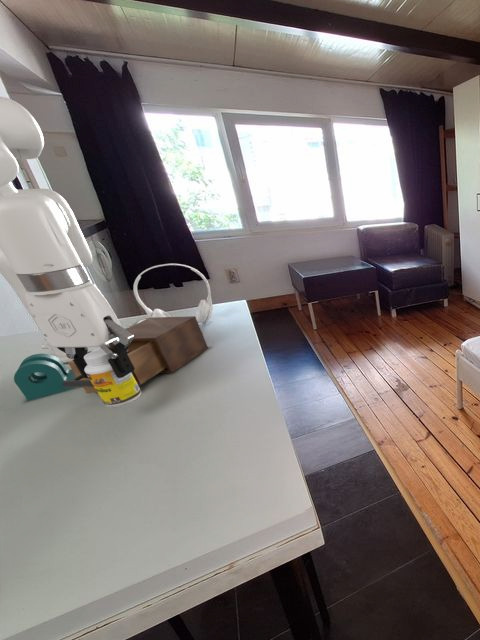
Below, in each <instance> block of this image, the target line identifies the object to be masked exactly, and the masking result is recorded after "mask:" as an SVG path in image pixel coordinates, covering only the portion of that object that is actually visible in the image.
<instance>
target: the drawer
mask: <svg viewBox="0 0 480 640" xmlns="http://www.w3.org/2000/svg"><path fill="white" fill-rule="evenodd" d="M109 345H110V346H111V348H112V349H113V348H114V346H115V345H114V344H113V343H111V344H109ZM128 349H129V350H128V352H126V353H127V355H128V356H129V358H130V360H131V362H132V364H133V366H134V368H135V370H134V371H132V372H131V373H132V375H133V377H134V378H135V380H136V382H137V384H138V386H139V385H143V384H145V383H146V382H147V381H148V380H151V379H152V378H153V377H155V376H156V375H158V374H160V373H159V372H161V371H162V370H164V369H165V368H166V366H165V364H164V361H163V359H162V357H161V355H160V353H159V351H158V349H157V347H156V345H155V343H154V341H132V342H131V343H130V346H129V348H128ZM67 365H68V366H69V367H70V370H71V369H72V371H73V372H74V374H75V375H76V378H74V379H72V380H70V381H64V382H63V383H62V386H63V387H76V388H83V390H84V392H85V393H86V394H95V393H96V394H98V393H97V391H96V389H95V388H94V386H93V384H92V383H91V381H90V379H89V378H83V376H82V375H81V373H80V371H79V370H78V368H77V366H76V365H75V363H74V362H73V360H72V361H70V362H67Z"/></svg>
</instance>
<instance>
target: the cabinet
mask: <svg viewBox="0 0 480 640" xmlns="http://www.w3.org/2000/svg"><path fill="white" fill-rule="evenodd" d="M145 319H146V320H144V319H143V320H144V321H142V322H140V323H138V322H137V323H138V324H137V323H135V324H134V325H132V326H128V327H127V328H124V329H125V330H127V331H128V332H130V333H131V334H133V335H134V339H133V340H132V341H154V343H155V345H156V347H157V349H158V351H159V353H160V355H161V357H162V359H163V361H164V364H165V366H166V368H165V369H164V370H162V371H161V372H159V373H158V374H173V373H174V372H176V371H178V370H179V369H180V368H181V367H183V366H184V365H186V364H187V363H189V362H191V361H192V360H193V359H194V358H196V357H197V356H199V355H201V354H202V353H203V352H205V351H206V350H208V349H209V347H208V344H207V342H206V339H205V336H204V334H203V332H202V329H201V327H200V325H199V324H200V323H198V322H197V320H196V315H194V316H192V315H191V316H189V315H187V316H172V317H156V318H150V317H148V318H145ZM109 339H110V338H109ZM111 343H112V342H111ZM111 343H109V344H111Z"/></svg>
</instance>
